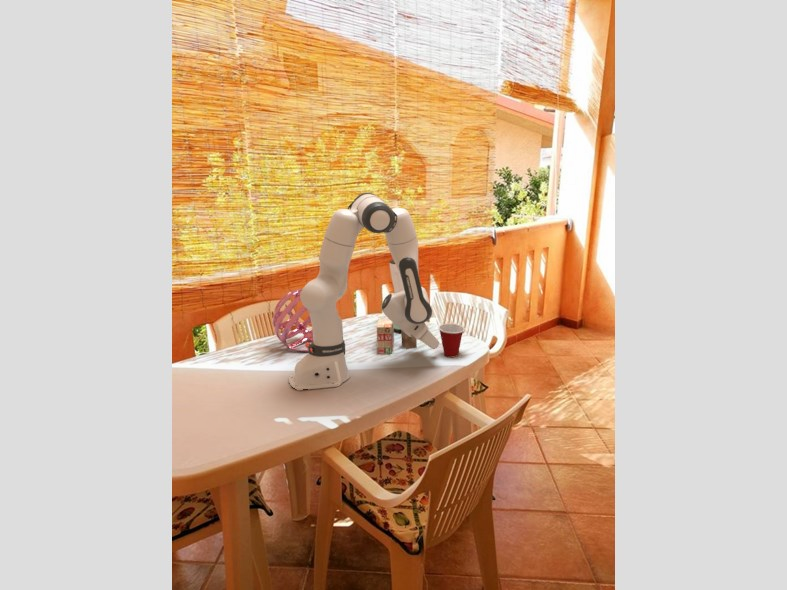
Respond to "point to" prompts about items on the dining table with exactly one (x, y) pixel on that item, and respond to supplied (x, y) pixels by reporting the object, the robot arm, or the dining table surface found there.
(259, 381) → the dining table surface
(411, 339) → the walnut block
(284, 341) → the spiral basket
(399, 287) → the green blender
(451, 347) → the plastic cup
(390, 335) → the stack of blocks
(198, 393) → the dining table surface
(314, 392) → the dining table surface
